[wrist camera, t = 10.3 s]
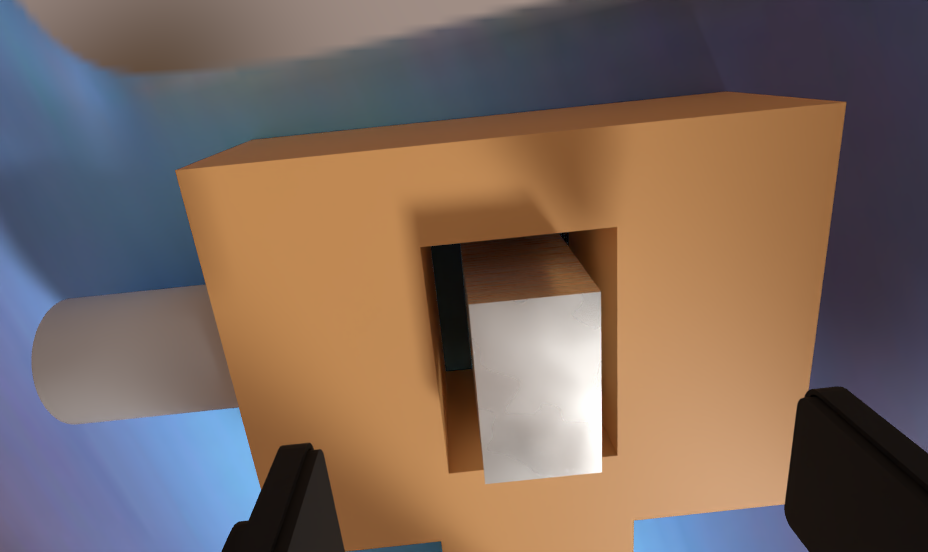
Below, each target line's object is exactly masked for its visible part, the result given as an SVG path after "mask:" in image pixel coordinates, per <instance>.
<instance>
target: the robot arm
mask: <svg viewBox="0 0 928 552" xmlns="http://www.w3.org/2000/svg"><path fill="white" fill-rule="evenodd" d="M784 510H785V516H786V519H787V521H788V524H789V525H790V527H791V528H792V530H793V531H794V532H795V534H796V535H797V536H798V538H799V539H800V540H801V542H802V543H803V544H804V546H805V547H806V548H807V549H808V551H809V552H928V453H927V452H925V451H924V450H923V449H922V448H920V447H919V446H918V445H916V444H915V443H914V442H913V441H911V440H910V439H909V438H908V437H906V436H905V435H904V434H903V433H901V432H900V431H899V430H897V429H896V428H895V427H894V426H892V425H891V424H890V423H889V422H887V421H886V420H885V419H884V418H882V417H881V416H880V415H879V414H877V413H876V412H875V411H873V410H872V409H871V408H870V407H868V406H867V405H866V404H865V403H863V402H862V401H861V400H860V399H858V398H857V397H856V396H854V395H853V394H852V393H851V392H849V391H848V390H847V389H845V388H843V387H829V388H819V389H811V390H809V391H807V393H806V394H805V397H804V398H801V399H800V400H799V401H798V404H797V410H796V418H795V426H794V434H793V442H792V450H791V458H790V465H789V473H788V481H787V489H786V497H785V505H784ZM222 552H345V549H344V545H343V540H342V536H341V531H340V526H339V522H338V517H337V513H336V508H335V503H334V499H333V494H332V489H331V485H330V480H329V476H328V471H327V466H326V462H325V457H324V453H323V451H322V450H321V449H317V450H314V448H313V446H312V444H311V443H301V444H291V445H282V446H280V447H279V449H278V451H277V453H276V456H275V458H274V461H273V463H272V465H271V468H270V470H269V473H268V475H267V478H266V480H265V482H264V485H263V487H262V490H261V492H260V494H259V497H258V499H257V502H256V504H255V506H254V509H253V511H252V514H251V516H250V518H249V521H241V522H238V523H236V524H235V525H234V527H233V528H232V530H231V532H230V534H229V536H228V538H227V540H226V543H225V545H224V547H223V549H222Z"/></svg>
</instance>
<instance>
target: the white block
mask: <svg viewBox="0 0 928 552" xmlns="http://www.w3.org/2000/svg"><path fill="white" fill-rule="evenodd" d="M460 251H461V262H462V272H463V283H464V293H465V304H466V314H467V325H468V335H469V345H470V354H471V363H472V372H473V380H474V389H475V398H476V407H477V416H478V424H479V433H480V442H481V451H482V460H483V468H484V477H485V484H492V483H502V482H512V481H521V480H531V479H541V478H551V477H561V476H571V475H580V474H590V473H600V472H602V386H601V291H600V290H599V288H598V287H597V285H596V284H595V283H594V281H593V280H592V279H591V277H590V276H589V274H588V273H587V272H586V270H585V269H584V267H583V266H582V265H581V263H580V262H579V261H578V259H577V258H576V256H575V255H574V254H573V252H572V251H571V249H570V248H569V247H568V245H567V244H566V243H565V241H564V240H563V238H562V237H561V236H560V234H559V233H553V234H544V235H534V236H524V237H515V238H505V239H495V240H486V241H476V242H466V243H460Z"/></svg>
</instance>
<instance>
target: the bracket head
mask: <svg viewBox="0 0 928 552" xmlns="http://www.w3.org/2000/svg"><path fill="white" fill-rule="evenodd" d="M845 109H846V102H841V101H829V100H818V99H807V98H795V97H784V96H773V95H762V94H750V93H739V92H728V91H726V92H717V93H707V94H697V95H687V96H677V97H667V98H658V99H648V100H638V101H628V102H618V103H608V104H599V105H589V106H579V107H569V108H559V109H549V110H539V111H530V112H520V113H510V114H500V115H490V116H480V117H471V118H461V119H451V120H441V121H431V122H421V123H412V124H402V125H392V126H382V127H372V128H362V129H353V130H343V131H333V132H323V133H313V134H303V135H294V136H284V137H274V138H264V139H254V140H250V141H248V142H245V143H243V144H240V145H238V146H235V147H233V148H230V149H228V150H225V151H223V152H220V153H218V154H215V155H213V156H210V157H208V158H205V159H203V160H200V161H198V162H195V163H193V164H190V165H188V166H185V167H183V168H180V169H178V170H175V172H176V176H177V179H178V183H179V187H180V190H181V194H182V198H183V202H184V205H185V209H186V213H187V216H188V220H189V224H190V228H191V231H192V235H193V239H194V242H195V246H196V250H197V254H198V257H199V261H200V265H201V268H202V272H203V276H204V279H205V283H206V284H205V285H195V286H186V287H176V288H166V289H157V290H147V291H137V292H128V293H118V294H108V295H99V296H89V297H79V298H70V299H65V300H62V301H60V302H58V303H57V304H55V305H54V306H53V307H52V308H51V309H50V310H49V311H48V312H47V313H46V314H45V316H44V317H43V319H42V321H41V322H40V324H39V327H38V329H37V331H36V335H35V338H34V342H33V348H32V373H33V379H34V384H35V387H36V390H37V393H38V395H39V397H40V400H41V402H42V403H43V405H44V406H45V408H46V409H47V410H48V411H49V412H50V414H52V415H53V416H54V417H55V418H56V419H58V420H60V421H62V422H64V423H67V424H85V423H94V422H104V421H113V420H123V419H132V418H142V417H151V416H161V415H170V414H180V413H189V412H199V411H208V410H218V409H227V408H237V407H239V409H240V413H241V417H242V420H243V424H244V428H245V432H246V435H247V439H248V443H249V446H250V450H251V454H252V458H253V461H254V465H255V469H256V472H257V476H258V480H259V483H260V487H261V490H262V487H263V485H264V482H265V480H266V478H267V475H268V473H269V470H270V468H271V465H272V463H273V461H274V458H275V456H276V453H277V451H278V449H279V447H280V446H282V445H291V444H301V443H311V444H312V446H313V448H314V450H317V449H321V450H322V451H323V453H324V457H325V462H326V466H327V471H328V476H329V480H330V485H331V489H332V494H333V499H334V503H335V508H336V513H337V517H338V522H339V526H340V531H341V536H342V540H343V545H344V549H345V551H354V550H364V549H373V548H382V547H392V546H401V545H410V544H419V543H429V542H438V541H441V544H442V551H443V552H633V542H634V520H643V519H652V518H661V517H670V516H680V515H689V514H698V513H708V512H717V511H726V510H736V509H745V508H754V507H763V506H773V505H782V504H785V497H786V489H787V481H788V473H789V465H790V458H791V450H792V442H793V434H794V426H795V418H796V410H797V404H798V401H799V400H800V399H801V398H804V397H805V394H806V393H807V391H808V389H809V382H810V374H811V367H812V359H813V352H814V344H815V336H816V329H817V321H818V314H819V306H820V299H821V291H822V283H823V276H824V268H825V261H826V253H827V246H828V238H829V230H830V223H831V215H832V208H833V200H834V193H835V185H836V177H837V170H838V162H839V155H840V147H841V140H842V132H843V124H844V117H845ZM563 232H569V248H570V249H571V251H572V252H573V254H574V255H575V256H576V258H577V259H578V261H579V262H580V263H581V265H582V266H583V267H584V269H585V270H586V272H587V273H588V274H589V276H590V277H591V279H592V280H593V281H594V283H595V284H596V285H597V287H598V288H599V290H600V291H601V386H602V472H600V473H590V474H580V475H571V476H561V477H551V478H541V479H531V480H521V481H512V482H502V483H492V484H485V477H484V468H483V460H482V451H481V442H480V433H479V424H478V416H477V407H476V398H475V389H474V380H473V372H472V369H465V370H456V371H446V367H445V359H444V351H443V342H442V334H441V326H440V317H439V309H438V301H437V292H436V284H435V276H434V267H433V259H432V251H431V246H437V245H447V244H457V243H466V242H476V241H486V240H495V239H505V238H515V237H524V236H534V235H544V234H553V233H563Z"/></svg>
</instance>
